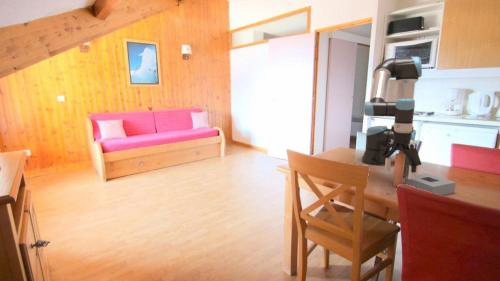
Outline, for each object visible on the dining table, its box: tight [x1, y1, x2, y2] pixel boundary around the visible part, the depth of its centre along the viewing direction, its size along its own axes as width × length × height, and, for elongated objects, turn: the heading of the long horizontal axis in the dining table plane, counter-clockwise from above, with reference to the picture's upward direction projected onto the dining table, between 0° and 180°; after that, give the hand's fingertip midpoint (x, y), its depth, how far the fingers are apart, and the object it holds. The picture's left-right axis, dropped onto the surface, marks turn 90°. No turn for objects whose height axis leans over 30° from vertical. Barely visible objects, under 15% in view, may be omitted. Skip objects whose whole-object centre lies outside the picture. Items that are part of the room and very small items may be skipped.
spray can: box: [398, 140, 418, 178], centre depth 139 cm, size 8×8×20 cm
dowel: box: [392, 152, 405, 188], centre depth 126 cm, size 4×4×16 cm
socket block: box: [404, 172, 457, 196], centre depth 121 cm, size 14×14×5 cm
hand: (398, 174), depth 126 cm, fingers open, 13 cm apart
